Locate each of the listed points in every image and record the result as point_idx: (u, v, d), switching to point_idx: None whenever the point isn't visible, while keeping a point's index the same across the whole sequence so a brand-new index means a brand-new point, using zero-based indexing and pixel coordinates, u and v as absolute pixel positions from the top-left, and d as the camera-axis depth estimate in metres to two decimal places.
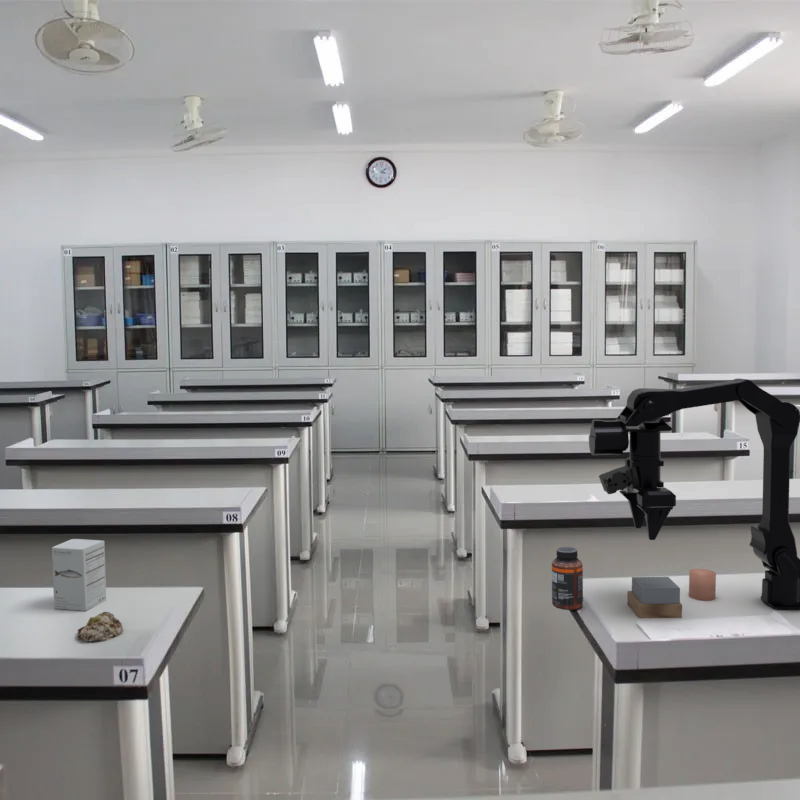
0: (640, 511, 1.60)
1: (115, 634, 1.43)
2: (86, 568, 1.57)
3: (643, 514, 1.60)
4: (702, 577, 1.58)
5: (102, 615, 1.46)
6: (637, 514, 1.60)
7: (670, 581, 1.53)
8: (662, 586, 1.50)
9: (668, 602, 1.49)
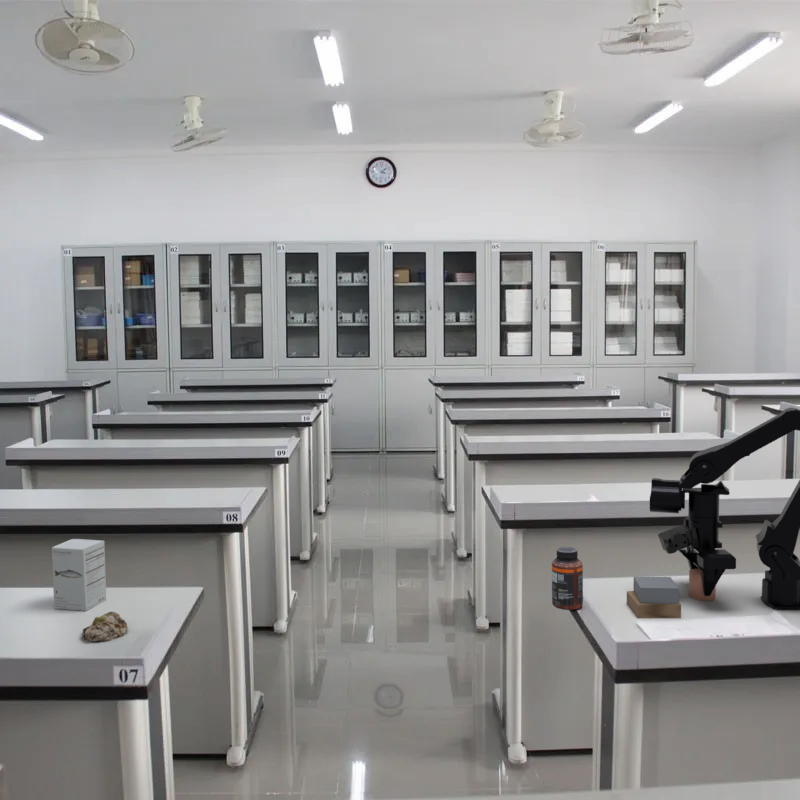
0: None
1: (120, 634, 1.43)
2: (86, 568, 1.57)
3: None
4: None
5: (107, 615, 1.46)
6: None
7: (671, 581, 1.53)
8: (661, 586, 1.50)
9: (667, 602, 1.49)
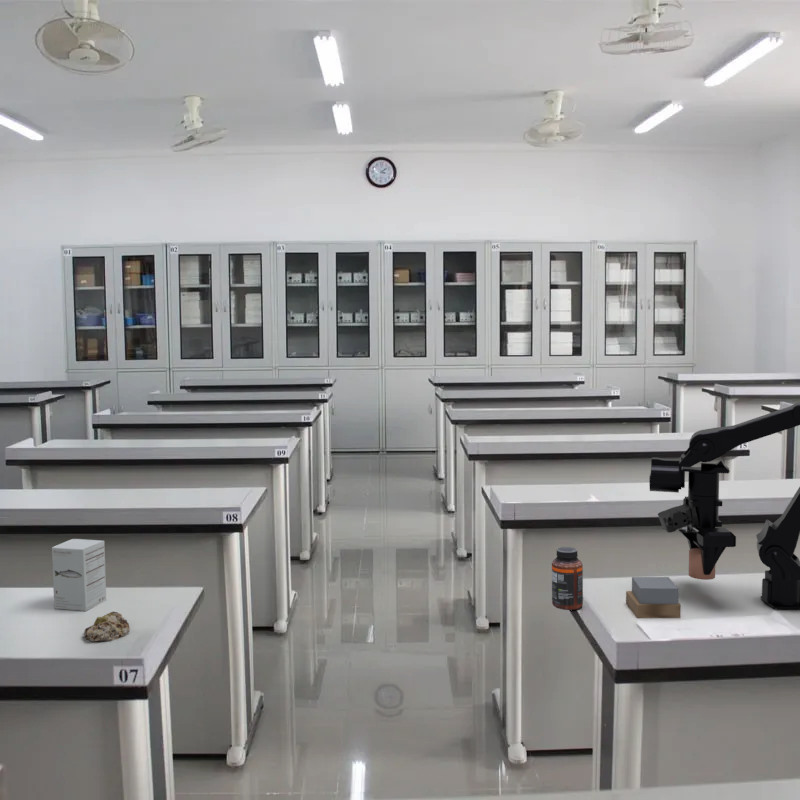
0: None
1: (121, 634, 1.43)
2: (86, 568, 1.57)
3: None
4: None
5: (109, 615, 1.46)
6: None
7: (670, 582, 1.53)
8: (660, 587, 1.50)
9: (666, 603, 1.49)
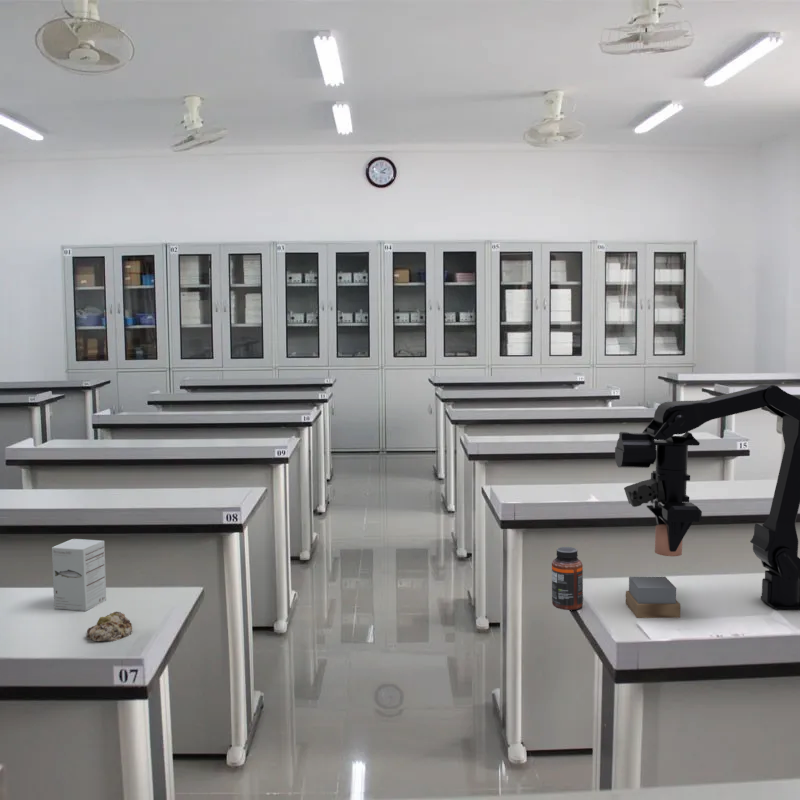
0: None
1: (124, 634, 1.43)
2: (86, 568, 1.57)
3: None
4: None
5: (112, 615, 1.46)
6: None
7: (667, 581, 1.53)
8: (658, 586, 1.50)
9: (664, 602, 1.50)
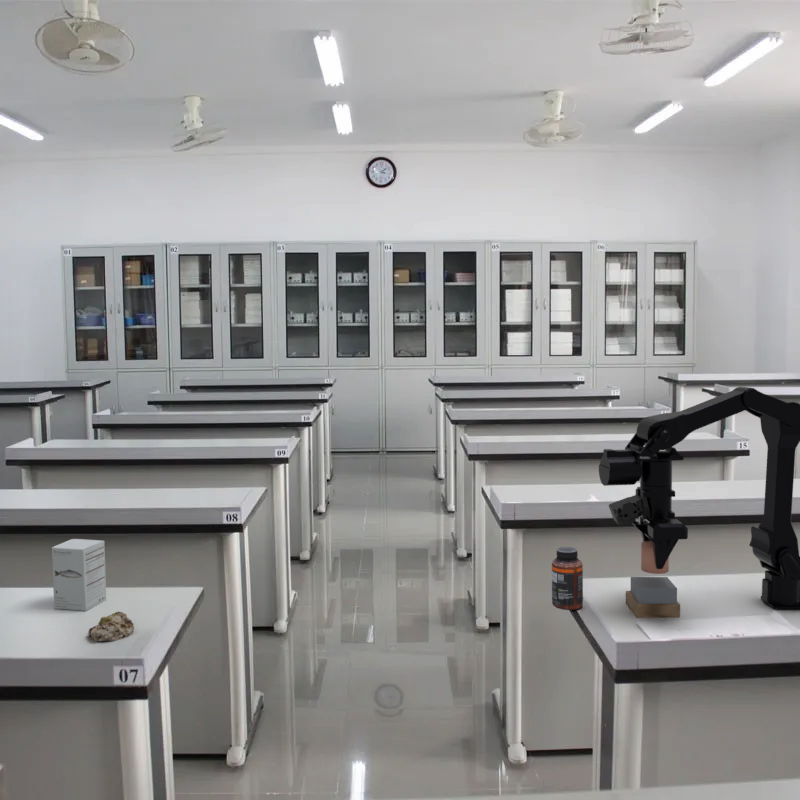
0: None
1: (125, 634, 1.43)
2: (86, 568, 1.57)
3: None
4: None
5: (114, 615, 1.46)
6: None
7: (668, 581, 1.53)
8: (659, 586, 1.50)
9: (665, 602, 1.50)
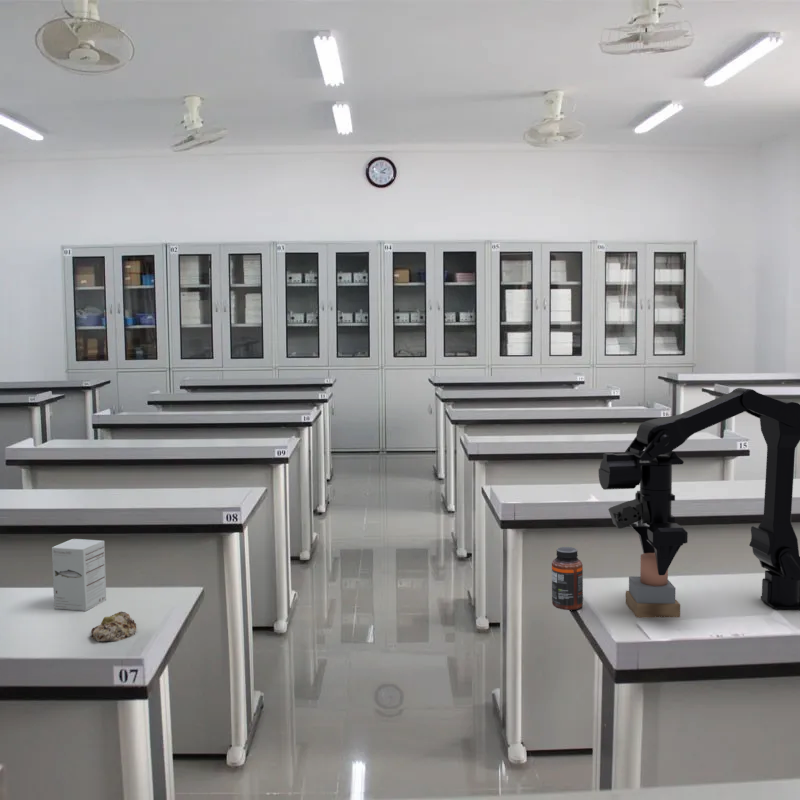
0: (651, 545, 1.56)
1: (127, 635, 1.43)
2: (86, 568, 1.57)
3: (654, 548, 1.56)
4: (653, 561, 1.50)
5: (116, 615, 1.46)
6: (647, 548, 1.56)
7: None
8: (657, 586, 1.50)
9: (663, 602, 1.50)
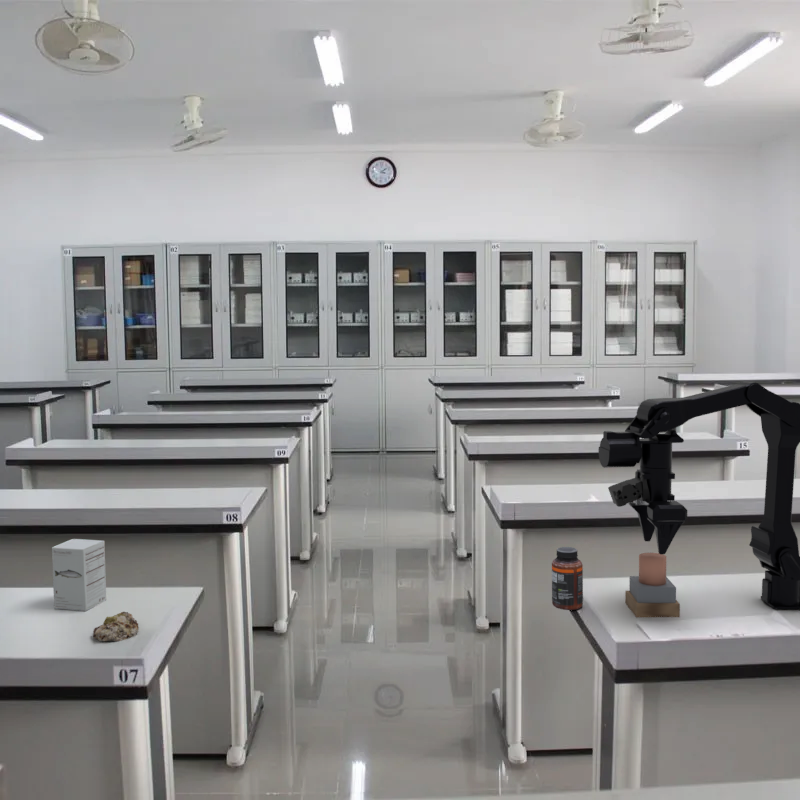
0: (649, 524, 1.57)
1: (129, 635, 1.43)
2: (86, 568, 1.57)
3: (652, 527, 1.57)
4: (652, 560, 1.51)
5: (119, 615, 1.46)
6: (646, 527, 1.57)
7: (667, 581, 1.54)
8: (658, 586, 1.51)
9: (664, 601, 1.50)
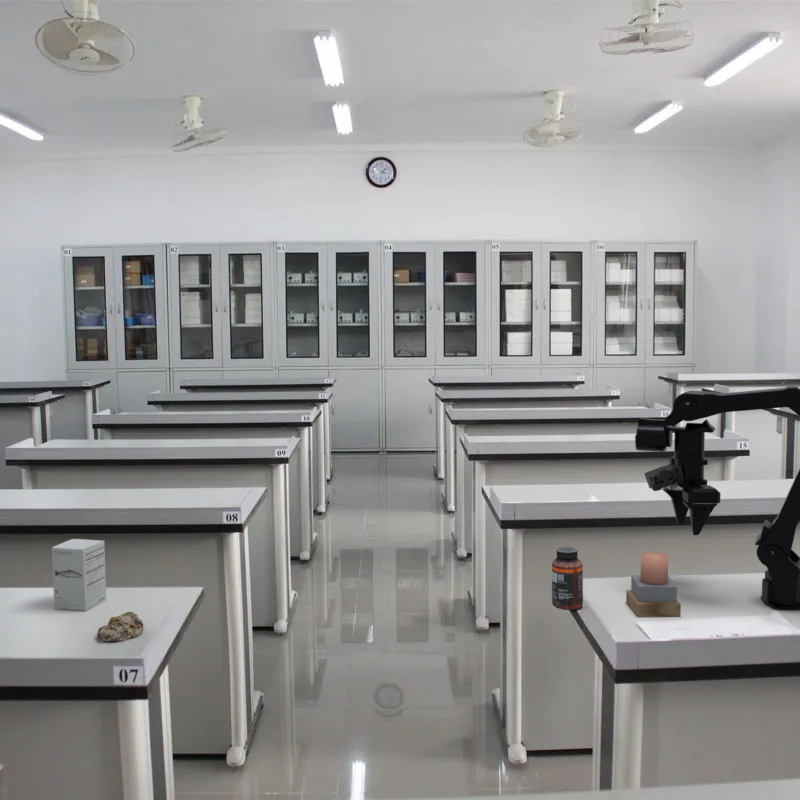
0: (682, 508, 1.67)
1: (133, 635, 1.43)
2: (86, 568, 1.57)
3: (685, 511, 1.67)
4: (654, 560, 1.51)
5: (124, 615, 1.46)
6: (679, 511, 1.67)
7: (669, 580, 1.54)
8: (659, 585, 1.51)
9: (664, 601, 1.50)
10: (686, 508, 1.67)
